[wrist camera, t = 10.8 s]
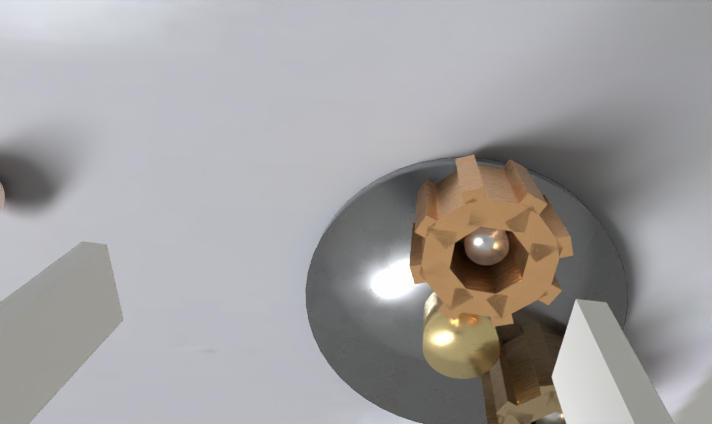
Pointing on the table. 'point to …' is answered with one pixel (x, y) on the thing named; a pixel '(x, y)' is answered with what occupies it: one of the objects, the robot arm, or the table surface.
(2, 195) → the egg
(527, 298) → the planet gear
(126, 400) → the table surface
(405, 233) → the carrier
